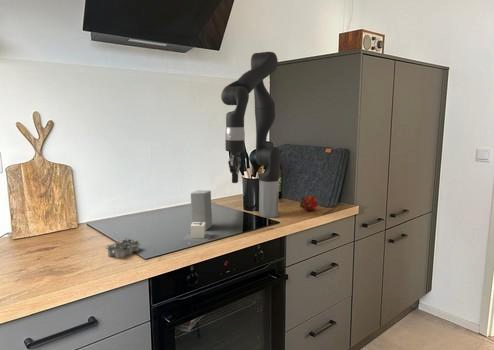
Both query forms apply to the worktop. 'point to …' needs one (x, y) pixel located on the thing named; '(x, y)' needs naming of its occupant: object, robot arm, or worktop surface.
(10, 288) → the worktop surface
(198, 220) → the skincare box
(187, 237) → the reading mat
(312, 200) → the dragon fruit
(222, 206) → the worktop surface
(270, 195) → the robot arm
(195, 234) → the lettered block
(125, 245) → the grey lumpy piece
